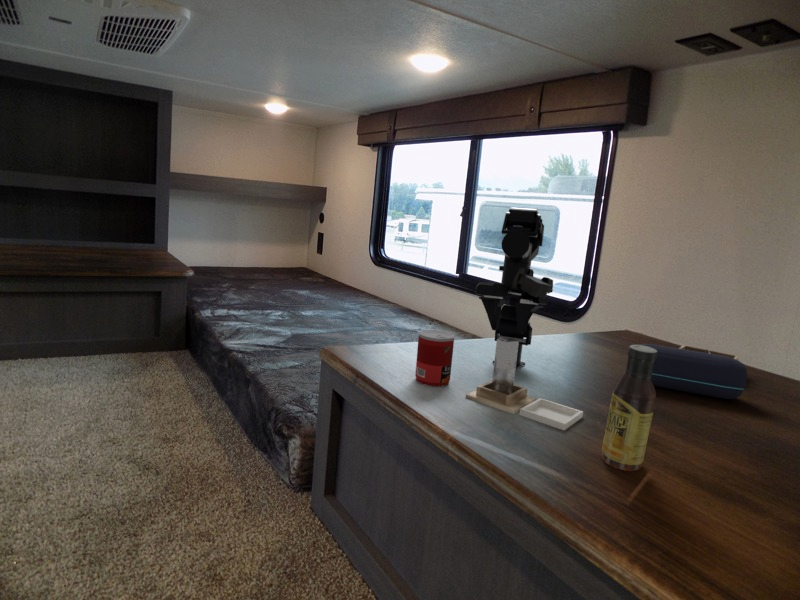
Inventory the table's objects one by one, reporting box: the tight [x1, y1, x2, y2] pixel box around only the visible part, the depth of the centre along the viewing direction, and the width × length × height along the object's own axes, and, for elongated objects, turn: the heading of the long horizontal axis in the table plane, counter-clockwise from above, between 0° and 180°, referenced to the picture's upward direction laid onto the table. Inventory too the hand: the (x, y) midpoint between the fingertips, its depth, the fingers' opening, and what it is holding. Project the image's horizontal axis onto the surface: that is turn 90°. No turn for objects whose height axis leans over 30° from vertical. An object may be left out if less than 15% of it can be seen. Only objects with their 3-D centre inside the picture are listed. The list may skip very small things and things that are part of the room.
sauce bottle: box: [601, 344, 657, 472], centre depth 80 cm, size 6×6×20 cm
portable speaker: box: [638, 343, 748, 400], centre depth 123 cm, size 25×10×10 cm, turn 66°
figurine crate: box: [678, 344, 740, 361], centre depth 141 cm, size 11×14×5 cm
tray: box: [518, 398, 584, 431], centre depth 99 cm, size 9×9×2 cm
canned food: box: [415, 329, 455, 387], centre depth 115 cm, size 8×8×11 cm
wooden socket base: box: [465, 380, 537, 415], centre depth 106 cm, size 10×11×3 cm
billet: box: [491, 338, 519, 395], centre depth 105 cm, size 4×4×12 cm
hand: (507, 331), depth 115 cm, fingers open, 9 cm apart
